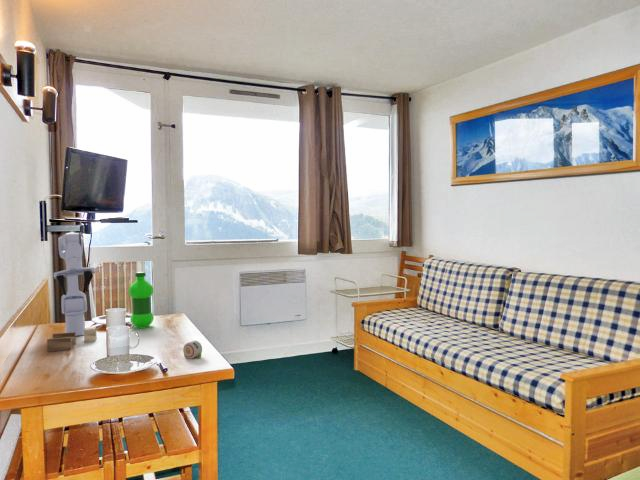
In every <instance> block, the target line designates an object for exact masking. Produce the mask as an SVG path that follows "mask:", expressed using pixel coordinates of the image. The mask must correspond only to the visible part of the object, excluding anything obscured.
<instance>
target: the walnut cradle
mask: <svg viewBox="0 0 640 480" xmlns="http://www.w3.org/2000/svg"><path fill="white" fill-rule="evenodd" d="M76 337H77V336H75V332H70V333H66V332H60V333H59V332H57V333H52V338H47V339H46V347H47V348H46V349H47V352H57V351H70V350H72V349H73V348H74V346H75V345H76V343H77V342H76Z"/></svg>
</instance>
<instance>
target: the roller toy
mask: <svg viewBox="0 0 640 480" xmlns="http://www.w3.org/2000/svg"><path fill="white" fill-rule="evenodd" d="M182 351H183V357H184V358H186V359H188V360H189V359H191V360H192V359H195V358H196V359H197V358H198V359H199V358H201V357H202V352H203V346H202V344H201V342H199V341H198V340H192V341H189V342H186V343H185V344H184V345H183V348H182Z"/></svg>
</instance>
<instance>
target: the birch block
mask: <svg viewBox="0 0 640 480" xmlns="http://www.w3.org/2000/svg"><path fill="white" fill-rule="evenodd" d="M83 338H84V339H83V340H84V343H88V342H95V341H97V338H98V337H97V327H96V326H93V327H85V329H84V335H83Z"/></svg>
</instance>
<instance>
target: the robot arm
mask: <svg viewBox="0 0 640 480" xmlns="http://www.w3.org/2000/svg"><path fill="white" fill-rule="evenodd" d="M57 239H58V240H57V241H58V254H59V258H61V259H62V260H64V262H65V269H64V270H63V269H62V270H60V271H55V272H53V278H54V279H55V280H57V281H58V282H59V284H60V286H61V290H62V294H63V295H62V296H61V300H60V301H61V302H60V303H61V306H60V307H61V314H62V315H64V317H65V333H70V332H75V336H76V337H77V336H78V337H79V336H84V329H85V328H86V324H85V323H86V322H85V321H86V320H85V313H86V312H87V311H88V302H87V301H88V299H87V295H86V293H87V292H89V288H90V284H91V282H92V279H94V277H93V276H94V275H93V274H96V268H95V267H94V266H91V267H87V266H86V267H83V258H82V257H83V253H84V252H83V251H84V238H83V237H82V232H75V231H69V232H67V233H65V234H63V235H61V236H59V237H58V238H57ZM81 275H83V276H84V290H85V292H86V293H85V292H83V291H81V290H80V289H79V276H81ZM65 277H66V278H67V279H66V278H65Z"/></svg>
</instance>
